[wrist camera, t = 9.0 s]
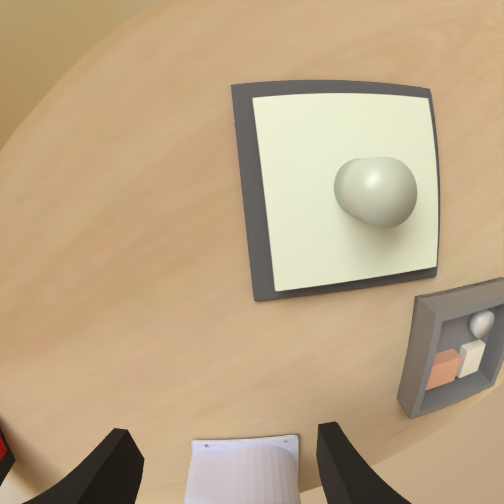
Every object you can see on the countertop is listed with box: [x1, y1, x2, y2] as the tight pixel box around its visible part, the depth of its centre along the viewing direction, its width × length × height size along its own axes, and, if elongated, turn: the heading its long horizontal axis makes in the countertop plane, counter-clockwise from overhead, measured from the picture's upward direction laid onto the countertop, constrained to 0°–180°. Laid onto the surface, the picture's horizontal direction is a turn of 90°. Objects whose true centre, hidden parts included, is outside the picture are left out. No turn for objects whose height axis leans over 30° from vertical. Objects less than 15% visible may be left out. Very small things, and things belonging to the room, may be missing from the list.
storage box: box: [397, 277, 504, 419], centre depth 19 cm, size 10×10×3 cm
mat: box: [231, 80, 440, 301], centre depth 17 cm, size 13×13×1 cm
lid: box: [252, 93, 438, 291], centre depth 14 cm, size 11×11×5 cm
